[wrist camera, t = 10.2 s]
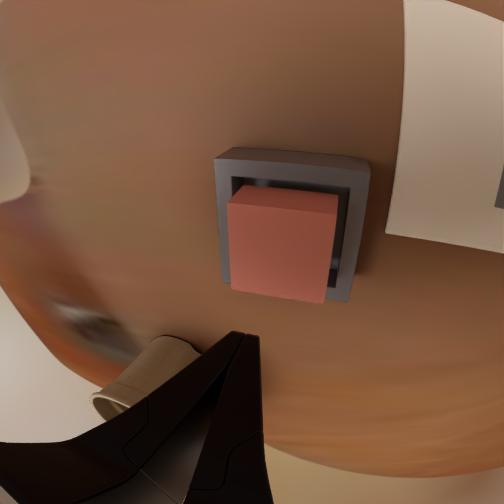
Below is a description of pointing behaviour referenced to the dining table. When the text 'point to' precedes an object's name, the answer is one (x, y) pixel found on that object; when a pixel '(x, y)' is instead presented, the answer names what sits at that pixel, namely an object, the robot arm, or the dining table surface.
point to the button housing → (306, 179)
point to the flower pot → (143, 375)
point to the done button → (281, 241)
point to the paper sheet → (451, 128)
